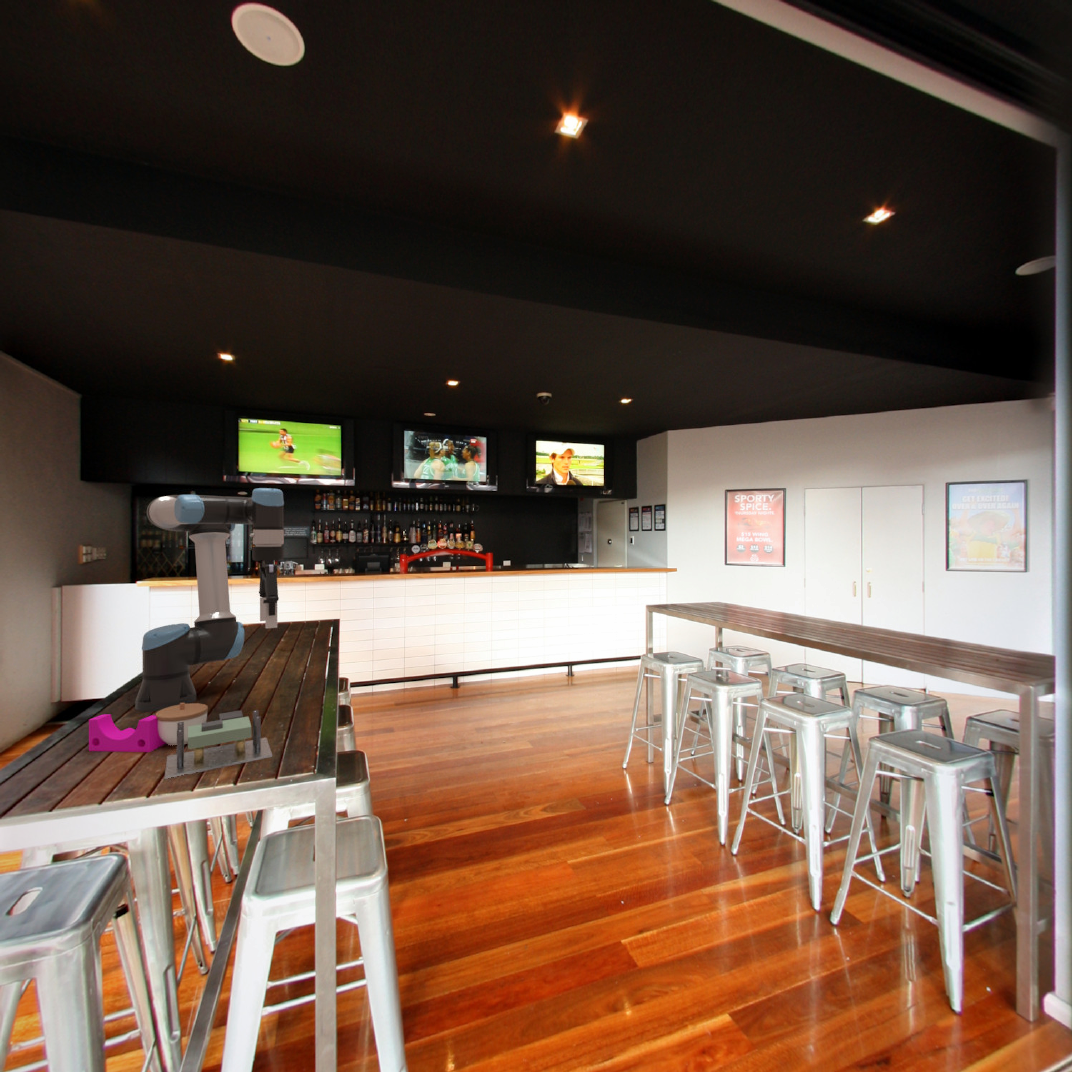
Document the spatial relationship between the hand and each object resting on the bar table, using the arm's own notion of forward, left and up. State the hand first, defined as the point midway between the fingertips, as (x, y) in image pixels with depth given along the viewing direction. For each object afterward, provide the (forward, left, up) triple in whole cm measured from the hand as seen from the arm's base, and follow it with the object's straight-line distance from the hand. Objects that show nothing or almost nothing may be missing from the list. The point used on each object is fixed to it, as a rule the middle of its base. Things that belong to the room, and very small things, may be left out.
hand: (268, 624), depth 143 cm
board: (+20, -12, -22) cm, 32 cm away
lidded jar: (+3, -20, -27) cm, 33 cm away
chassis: (+20, -12, -27) cm, 35 cm away
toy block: (0, -30, -27) cm, 40 cm away
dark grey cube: (+4, -9, -27) cm, 28 cm away
